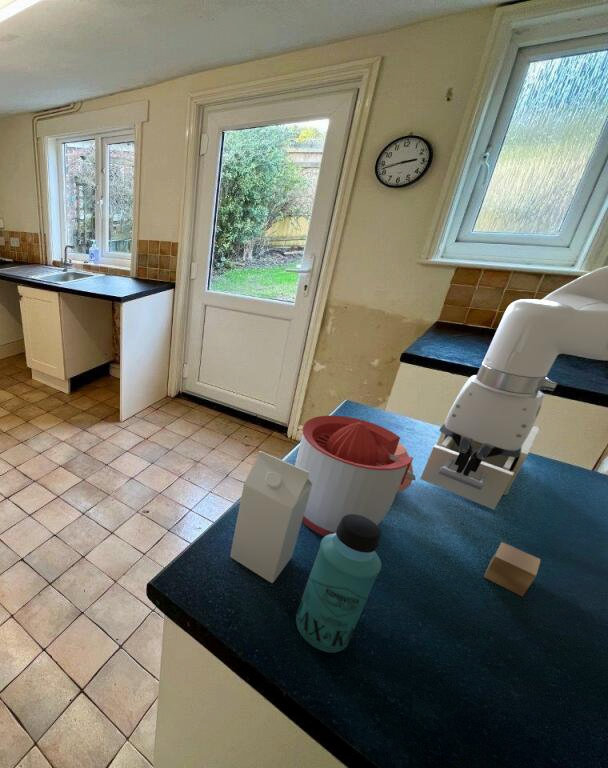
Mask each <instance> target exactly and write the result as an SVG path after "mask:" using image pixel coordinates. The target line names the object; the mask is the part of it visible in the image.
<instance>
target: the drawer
mask: <svg viewBox="0 0 608 768" xmlns="http://www.w3.org/2000/svg"><path fill="white" fill-rule="evenodd" d="M471 446H472V450H473V452H472V454H473V453H474V451H476V450H477V449H480V448H481V447H482V446H483V443H480V442H477V441H474V440H473V441H472V445H471ZM459 453H460V451H459V447H458V446H457V444H456V443H455V441H454V440H453V438H452V437H449V436H448V437H447V438H446V439H445V441H444V442H443V443H442V444H441V446H438V445H436V444H434V445H433V447H432V450H431V452H430V454H429V457H428V459H427V461H426V464H425V466H424V469H423V470H422V473H421V475H420V478H419V479H420V480H422V481H424V482H426V483H428V484H431V485H433V486H436V487H438V488H441V489H443V490H446V491H448V492H451V493H452V494H455V495H458V496H460V497H462V498H465V499H467V500H469V501H471V502H474V503H476V504H479V505H481V506H484V507H486V508H489V509H490V510H491V509H492V510H496V508H497V506H498V504H499V503H500V500H501V498H502V497H503V495H504V494H503V493H504V491H505V489H506V487H507V485H508V484H509V482H510V480H511V478H512V476H513V474H514V472H511V471H509V469H510V467H511V465H512V463H513V461H514V459H515V457H510V456H504V455H496V456H491V457H486V458H485V459H482V461H481V463H480V465H479V467H478V469H477V471H476V472H473V471H470V473H469V475H468V476H465V475H464V474H463V472H464V470H465V468H466V466H467V464H468V462H469V460H470V458H471V456H472V454H471V456H470V458H469V460H468V462H467V464H466V466H465V468H464V470H463V471H462V473H458V472H456V471H457V469H458V466H457V465H455V461H456V459H457V457H458V455H459Z"/></svg>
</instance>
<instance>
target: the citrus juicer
mask: <svg viewBox="0 0 608 768" xmlns="http://www.w3.org/2000/svg"><path fill="white" fill-rule="evenodd" d="M301 431H302V437H301V438H300V439H301V440H300V443H299V448H298V452H297V456H296V460H295V462H294V463H295V464H294V466H297V467H299V468H301V469H304V470H306V471H308V472H309V476H308V479H309V480H310V482H311V483H312V487H311V491H310V495H309V498H308V502H307V505H306V509H305V512H304V516H303V520H302V523H303V524H304V525H305V526H306V527H308V528H309V529H310V530H312V531H313V532H314V533H317V534H319V535H321V537H325V536H326V535H329V534H333V533H336V529H337V527H338V525H339V523H340V521H341V519H342V518H343V517H344V516H345V515H348V514H356V515H360V516H363V517H366V518H368V519H370V520H371V521H373V522H374V523H375V524H376V525H377V526H378V525H379V524H380V523H381V522H382V521H383V520H384V519H385V517H386V516H387V514H388V512H389V510H390V509H391V507H392V505H393V503H394V501H395V499H396V496H397V493H398V492H397V491H398V489H399V486H400V484H402V485H403V482H404V480H405V478H407V479H411V480H412V481H414V482H416V475H415V474H414V473H413V474H412V473H411V472H410V470H409V467H410V465H411V463H412V462H413V459H414V457H413V456H409V457H397V456H395V455H394V454H395V452H396V449H397V446H398V443H400V439H401V436H399V435H397V434H396V433H394V432H393V431H391V430H390V429H387V428H386V427H383V426H380V425H379V424H376V423H373V422H371V421H367V420H364V419H359V418H355V417H351V416H345V415H319V416H315V417H312V418H310V419H308V420H306V422H305V423H304V424H303V426H302V428H301Z"/></svg>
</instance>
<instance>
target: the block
mask: <svg viewBox="0 0 608 768" xmlns="http://www.w3.org/2000/svg"><path fill="white" fill-rule="evenodd" d="M541 561H542V559H540V557H539V558H538V557H536V556H534V555H532V554H530V553H528V552H525V551H523V550H521V549H518V548H516V547H515V546H512V545H510V544H508V543H506V542H504V541H501V542H500V543H499V545H498V547H497V548H496V551H495V552H494V554H493V556H492V557H491V559H490V561H489V563H488V566H487V568H486V570H485V572H484V575H483V578H485V579H487V580H489V581H491V582H493V583H495V584H497V585H498V586H500V587H503V588H505V589H507V590H509V591H511V592H512V593H514V594H517V595H518V596H521V597H524V596H525V594H526V593H527V591H528V590H529V588H530V586H531V585H532V583H533V582H534V580H535V579H536V577H537V576H538V575H537V574H538V571H539V568H540V564H541Z"/></svg>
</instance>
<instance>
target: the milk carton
mask: <svg viewBox="0 0 608 768" xmlns="http://www.w3.org/2000/svg"><path fill="white" fill-rule="evenodd" d="M308 476H309V472H308V471H306V470H304V469H301V468H299V467H297V466H295V464H292V463H289V462H287V461H284V460H283V459H280V458H277V457H275V456H273V455H271V454H268V453H266V452H264V451H261V450H259V451H258V455H257V458H256V460H255V461H254V463H253V466H252V467H251V469H250V471H249V473H248V475H247V477H246V478H245V480H244V482H243V486H242V492H241V496H240V501H239V507H238V513H237V518H236V523H235V529H234V534H233V539H232V544H231V550H230V555H229V557H230V558H231V559H233V560H234V561H235V562H237V563H239V564H241V565H242V566H243V567H245V568H247V569H249V570H250V571H252V572H253V573H255V574H256V575H257V576H260V578H263V579H264V580H266V581H268V582H269V583H271V584H273V583H274V582H275V581H276V580H277V579H278V577H279V576H280V574H281V573H282V571H283V570H284V569H285V567H286V566H287V565H288V563H289V562H290V560H291V559H292V558H293V554H294V551H295V548H296V544H297V541H298V537H299V533H300V529H301V527H302V523H303V522H302V520H303V516H304V512H305V509H306V505H307V502H308V498H309V495H310V491H311V487H312V483H311V482H310V480H309V479H308Z"/></svg>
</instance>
